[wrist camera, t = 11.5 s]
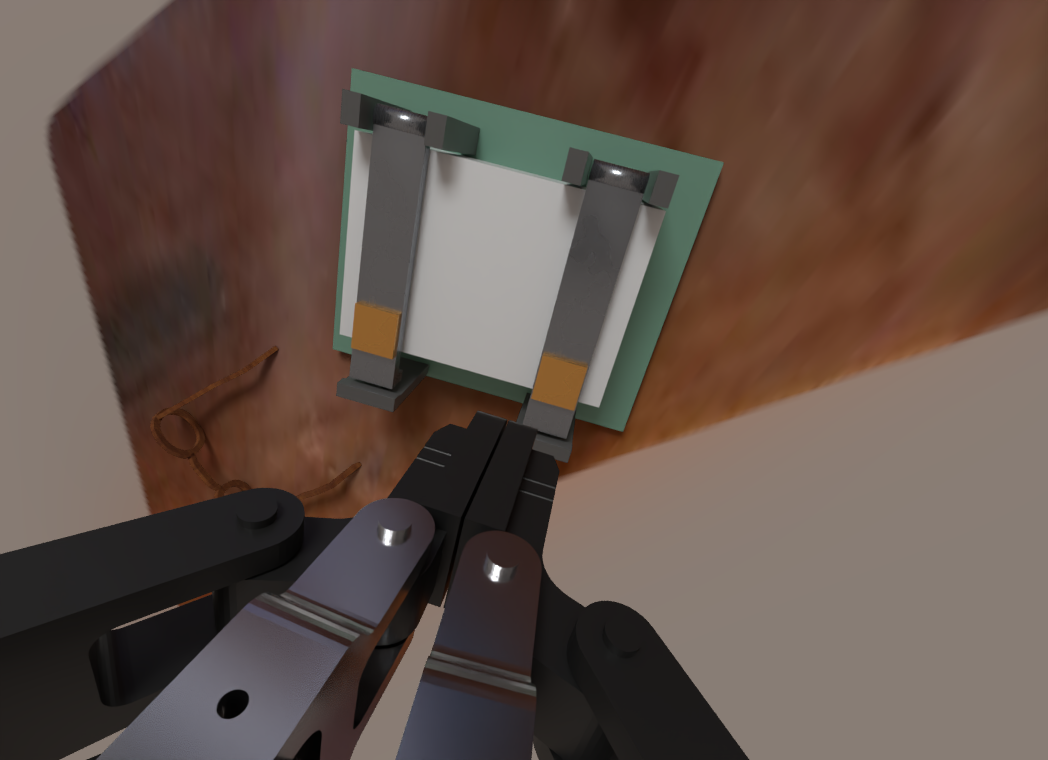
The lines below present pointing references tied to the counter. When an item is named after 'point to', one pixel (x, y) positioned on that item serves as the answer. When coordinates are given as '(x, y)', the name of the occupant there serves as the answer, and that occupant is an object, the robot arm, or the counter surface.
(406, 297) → the strap
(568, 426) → the strap
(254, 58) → the counter surface
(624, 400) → the base
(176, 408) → the glasses
